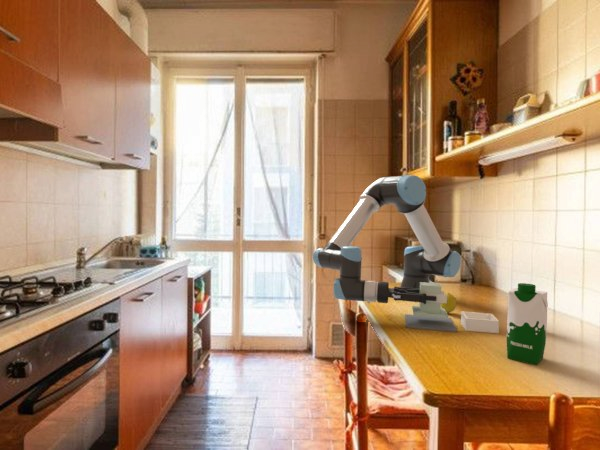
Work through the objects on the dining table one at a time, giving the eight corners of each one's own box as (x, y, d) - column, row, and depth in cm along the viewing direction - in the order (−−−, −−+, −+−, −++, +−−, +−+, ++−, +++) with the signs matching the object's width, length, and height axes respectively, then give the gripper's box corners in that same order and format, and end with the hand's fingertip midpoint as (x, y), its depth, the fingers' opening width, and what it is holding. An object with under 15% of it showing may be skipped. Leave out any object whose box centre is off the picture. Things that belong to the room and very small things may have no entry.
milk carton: (502, 358, 105) (505, 283, 105) (511, 350, 112) (514, 279, 112) (540, 367, 100) (544, 288, 99) (547, 358, 106) (551, 284, 106)
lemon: (457, 315, 150) (457, 294, 150) (441, 314, 151) (442, 293, 151) (454, 312, 155) (455, 291, 155) (439, 311, 156) (440, 291, 156)
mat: (405, 315, 148) (405, 314, 148) (450, 319, 144) (450, 318, 144) (406, 327, 132) (406, 325, 132) (457, 332, 128) (457, 330, 128)
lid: (412, 308, 144) (413, 280, 144) (444, 310, 142) (445, 282, 141) (413, 315, 134) (414, 285, 133) (447, 318, 131) (449, 288, 131)
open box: (460, 322, 140) (461, 311, 140) (491, 325, 138) (492, 313, 138) (465, 330, 130) (466, 318, 130) (498, 333, 128) (499, 321, 128)
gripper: (378, 297, 151) (441, 301, 146) (375, 308, 132) (448, 314, 127) (378, 277, 151) (442, 281, 146) (376, 285, 132) (449, 291, 127)
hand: (445, 296), depth 136 cm, fingers closed on lid, 7 cm apart
